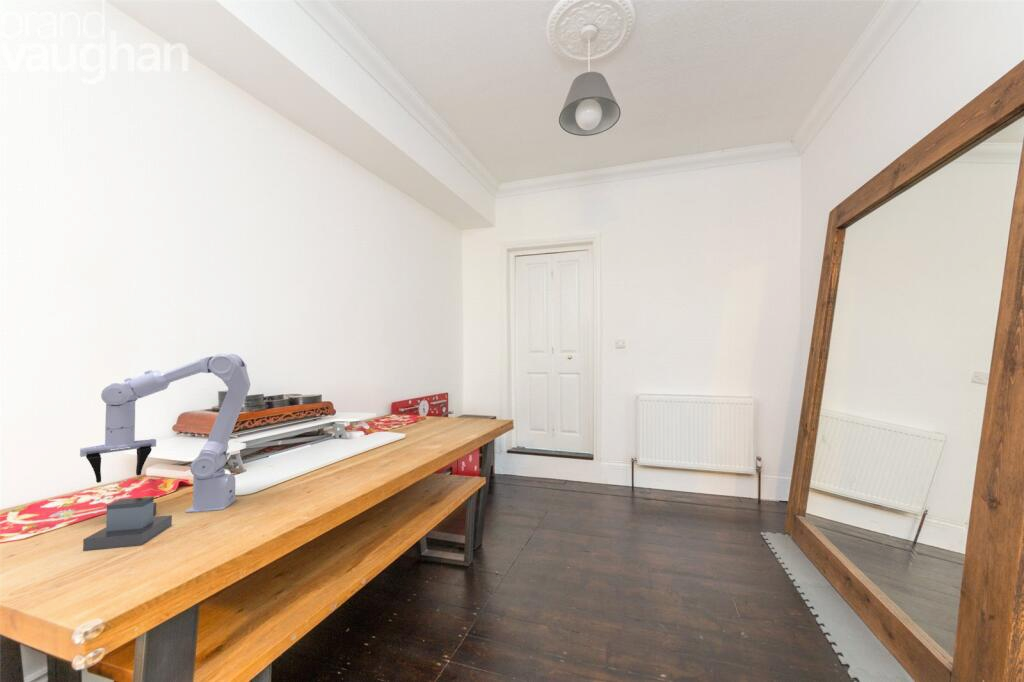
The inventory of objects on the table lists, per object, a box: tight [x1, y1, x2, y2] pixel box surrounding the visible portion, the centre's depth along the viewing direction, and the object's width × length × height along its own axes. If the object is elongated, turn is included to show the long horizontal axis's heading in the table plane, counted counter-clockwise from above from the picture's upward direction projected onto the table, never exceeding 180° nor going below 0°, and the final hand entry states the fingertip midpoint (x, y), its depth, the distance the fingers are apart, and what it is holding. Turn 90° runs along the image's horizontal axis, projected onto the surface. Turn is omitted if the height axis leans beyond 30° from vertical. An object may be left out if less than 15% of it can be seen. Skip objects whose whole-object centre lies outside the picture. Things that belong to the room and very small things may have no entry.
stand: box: [82, 514, 173, 552], centre depth 94 cm, size 11×11×2 cm
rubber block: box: [153, 502, 157, 517], centre depth 107 cm, size 4×4×3 cm
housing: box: [105, 496, 155, 532], centre depth 95 cm, size 4×7×6 cm, turn 102°
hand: (119, 478), depth 107 cm, fingers open, 7 cm apart
